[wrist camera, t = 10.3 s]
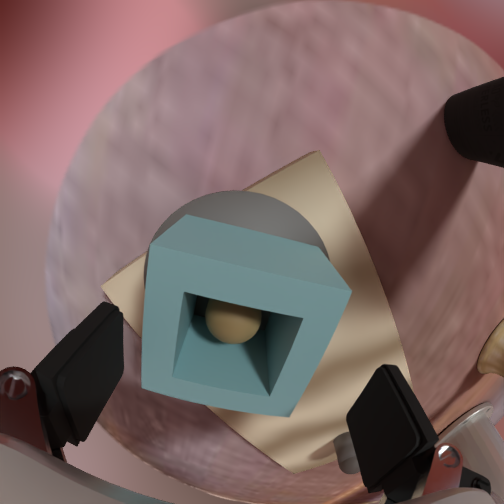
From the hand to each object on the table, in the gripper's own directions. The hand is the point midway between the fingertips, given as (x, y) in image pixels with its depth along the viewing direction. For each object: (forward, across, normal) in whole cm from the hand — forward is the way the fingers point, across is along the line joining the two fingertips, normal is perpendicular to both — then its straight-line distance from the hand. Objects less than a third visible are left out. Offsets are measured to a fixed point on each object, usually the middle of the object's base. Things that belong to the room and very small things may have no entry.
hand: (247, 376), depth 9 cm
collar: (+6, +1, 0) cm, 6 cm away
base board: (+8, -5, +6) cm, 11 cm away
